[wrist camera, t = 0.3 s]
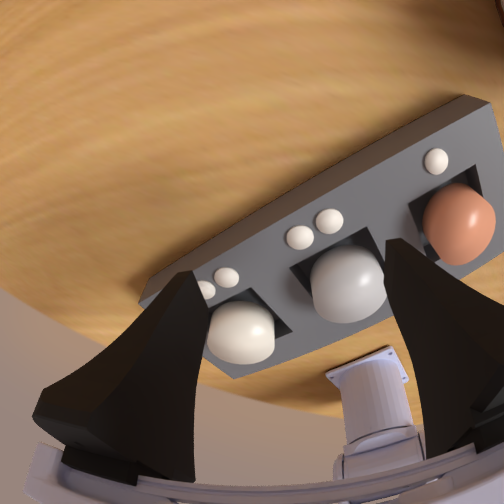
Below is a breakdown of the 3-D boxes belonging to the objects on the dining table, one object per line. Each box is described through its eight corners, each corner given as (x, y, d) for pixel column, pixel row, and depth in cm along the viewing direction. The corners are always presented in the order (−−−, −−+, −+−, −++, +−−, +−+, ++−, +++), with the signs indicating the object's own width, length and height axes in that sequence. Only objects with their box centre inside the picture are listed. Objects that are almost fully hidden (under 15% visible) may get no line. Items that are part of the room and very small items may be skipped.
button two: (387, 281, 20) (396, 302, 18) (328, 309, 22) (333, 332, 20) (362, 232, 18) (372, 252, 16) (296, 267, 20) (299, 290, 18)
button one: (482, 226, 17) (498, 243, 15) (431, 257, 19) (444, 277, 17) (471, 170, 15) (489, 184, 13) (413, 204, 16) (428, 222, 15)
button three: (286, 329, 23) (287, 351, 21) (236, 349, 25) (234, 370, 23) (249, 291, 21) (248, 314, 19) (198, 316, 23) (193, 338, 21)
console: (496, 224, 20) (516, 244, 17) (236, 354, 30) (233, 381, 27) (464, 94, 14) (492, 103, 12) (149, 278, 24) (137, 305, 22)
